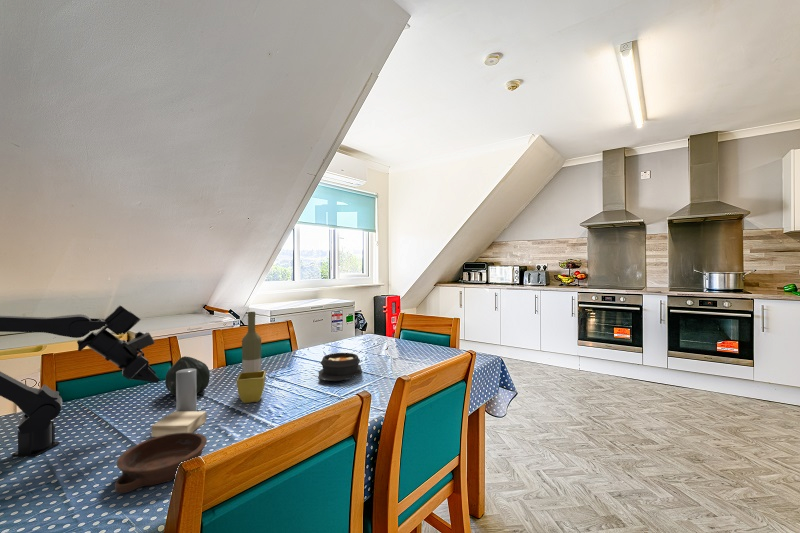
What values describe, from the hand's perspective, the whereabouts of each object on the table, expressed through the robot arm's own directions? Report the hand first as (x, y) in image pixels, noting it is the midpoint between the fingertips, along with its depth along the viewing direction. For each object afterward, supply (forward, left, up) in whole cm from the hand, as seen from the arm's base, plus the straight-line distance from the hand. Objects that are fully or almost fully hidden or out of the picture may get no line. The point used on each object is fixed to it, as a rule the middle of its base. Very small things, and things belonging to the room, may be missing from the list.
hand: (156, 377), depth 111 cm
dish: (-26, -19, -14) cm, 35 cm away
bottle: (+27, -18, -14) cm, 35 cm away
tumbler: (+5, -6, -13) cm, 16 cm away
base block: (-5, -10, -13) cm, 17 cm away
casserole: (+45, -49, -14) cm, 68 cm away
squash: (+25, +5, -14) cm, 29 cm away
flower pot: (+17, -22, -14) cm, 31 cm away
